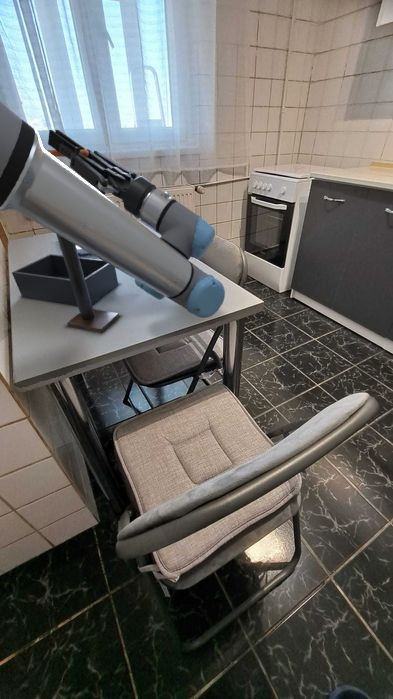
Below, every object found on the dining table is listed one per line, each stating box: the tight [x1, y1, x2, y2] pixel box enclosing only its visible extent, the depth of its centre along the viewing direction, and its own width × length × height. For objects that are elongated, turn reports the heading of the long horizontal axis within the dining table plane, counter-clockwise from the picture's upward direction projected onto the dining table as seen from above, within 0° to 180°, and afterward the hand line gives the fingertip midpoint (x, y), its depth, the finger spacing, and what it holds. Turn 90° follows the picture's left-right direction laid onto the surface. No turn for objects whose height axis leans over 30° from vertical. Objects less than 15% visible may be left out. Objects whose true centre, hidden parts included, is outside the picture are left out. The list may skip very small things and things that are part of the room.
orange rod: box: [45, 149, 89, 158], centre depth 63 cm, size 20×1×1 cm, turn 71°
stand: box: [55, 233, 120, 333], centre depth 66 cm, size 10×8×30 cm
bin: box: [11, 253, 119, 307], centre depth 88 cm, size 24×16×8 cm, turn 71°
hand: (53, 137), depth 61 cm, fingers closed on orange rod
